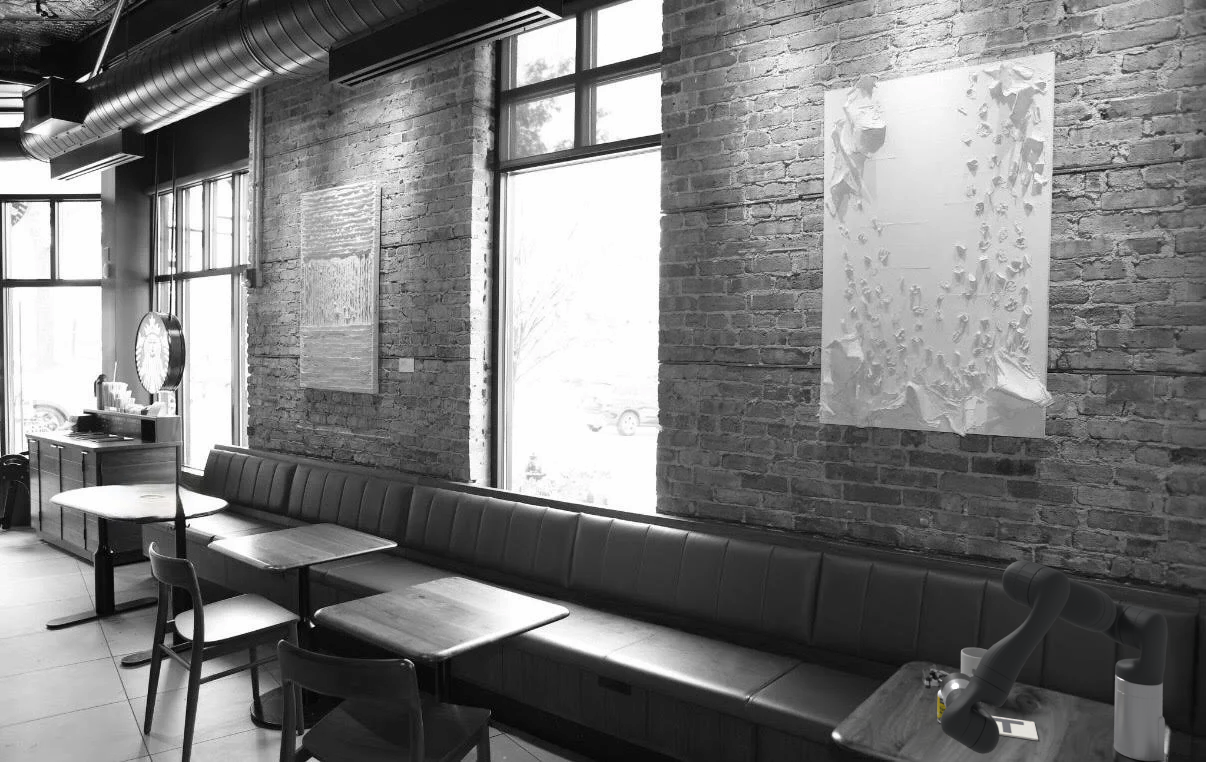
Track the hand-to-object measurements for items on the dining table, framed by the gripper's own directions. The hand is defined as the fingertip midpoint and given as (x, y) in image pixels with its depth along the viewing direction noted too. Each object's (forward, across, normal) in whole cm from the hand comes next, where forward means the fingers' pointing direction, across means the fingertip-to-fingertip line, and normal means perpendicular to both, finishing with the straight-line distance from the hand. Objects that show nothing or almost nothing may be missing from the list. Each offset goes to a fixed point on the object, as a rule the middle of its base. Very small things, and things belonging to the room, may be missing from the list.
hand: (953, 670), depth 198 cm
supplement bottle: (+12, 0, +17) cm, 21 cm away
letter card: (+12, -14, +17) cm, 25 cm away
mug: (+32, -10, +17) cm, 37 cm away
